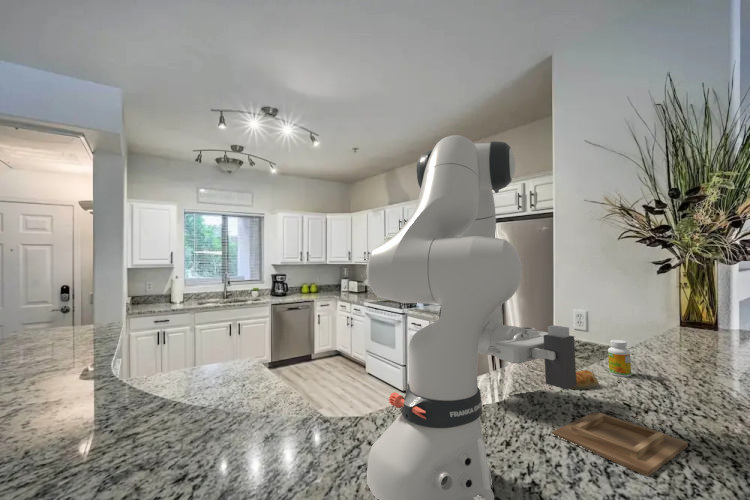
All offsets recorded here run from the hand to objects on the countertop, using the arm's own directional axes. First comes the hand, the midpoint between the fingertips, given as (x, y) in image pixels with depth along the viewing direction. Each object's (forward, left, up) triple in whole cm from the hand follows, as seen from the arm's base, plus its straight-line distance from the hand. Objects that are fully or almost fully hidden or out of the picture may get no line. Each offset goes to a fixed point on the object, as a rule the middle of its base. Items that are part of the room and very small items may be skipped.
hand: (563, 354), depth 79 cm
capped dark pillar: (0, +1, -7) cm, 7 cm away
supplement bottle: (+38, +6, -14) cm, 41 cm away
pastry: (+20, +8, -14) cm, 26 cm away
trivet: (-4, -12, -13) cm, 18 cm away
